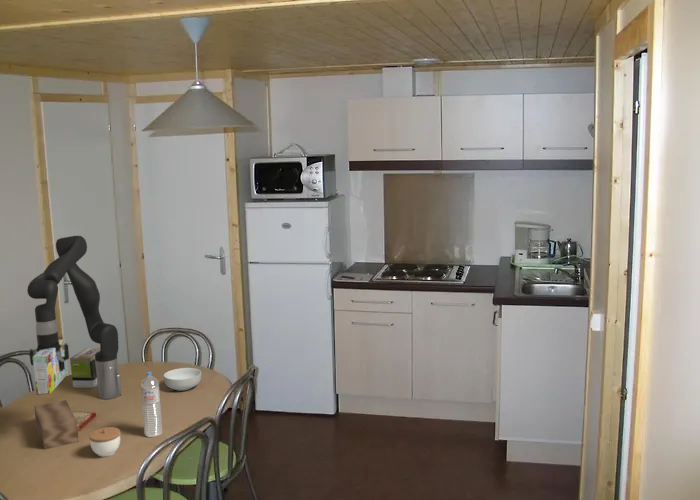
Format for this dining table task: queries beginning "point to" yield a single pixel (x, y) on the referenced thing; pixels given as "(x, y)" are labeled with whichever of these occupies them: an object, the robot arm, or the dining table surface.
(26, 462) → the dining table surface
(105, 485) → the dining table surface
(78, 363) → the tea box
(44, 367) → the snack box
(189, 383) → the cereal bowl
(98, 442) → the lidded jar
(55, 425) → the walnut stand
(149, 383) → the water bottle
